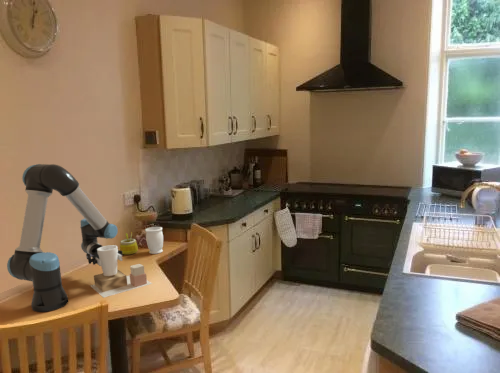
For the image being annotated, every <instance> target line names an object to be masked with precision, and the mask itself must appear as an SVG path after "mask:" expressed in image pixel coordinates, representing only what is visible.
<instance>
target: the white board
mask: <svg viewBox="0 0 500 373" xmlns="http://www.w3.org/2000/svg"><path fill="white" fill-rule="evenodd" d="M126 277H127V285H126V286H123V287H119V288H116V289H112V290H109V291H105V292H102V291H101V290H100V289H99V288H97V287H96V286H95V284H92V285H90V287H91V288H92V289H93V290H94V291H95V292H96V293H98V294H99V295H100V296H101V297H102V298H103V299H104V298H108V297H111V296H114V295H115V296H116V295H118V294H121V293H124V292H128V291H132V290H135V289H139V288H143V287H146V286H149V285H153V282H151V281H149V280H148V279H147V284H144V285H140V286H137V287H135V286H133V285H132V284H131V283H130V274H129V275H126Z"/></svg>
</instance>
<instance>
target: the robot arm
mask: <svg viewBox="0 0 500 373" xmlns="http://www.w3.org/2000/svg"><path fill="white" fill-rule="evenodd" d="M21 177H22V178H21V179H22V183H23V185H24V186H25V191H24V192H26V194H27V199H26V206H25V210H24V217H23V223H22V229H21V230H22V231H21V235H20V240H19V241H20V242H19V246H18V247H16V248H15V250H14V254H12V255H11V257H9V258H8V261H7V263H6V269H7V272H8V274H9V275H11V277H13V278H15V279H17V280H21V281H28V282H32V287H33V295H32V299H31V303H30V305H31V310H32V311H33V312H37V313H43V312H46V313H47V312H52V311H55V310H58V309H60V308H63V307H64V306H66V305H67V304H68V303H69V297H68V294H67V292H66V291H65V289H64V287H63V282H62V281H63V280H62V274H61V273H62V272H61V266H60V264H61V263H60V260H59V256H58V255H57V254H56V253H54V252H50V251H49V252H48V251H47V252H44V251H43V250H42V249H41V243H42V237H43V231H44V223H45V218H46V213H47V208H48V206H47V205H48V200H49V197H51V196H52V195H53V191H56V192H58V193H59V195H60V196H62V197H65V198H66V199H67V200H68V201H69V202H70V203H71V205H72V206H73V207H74V208H75V209H76V210H77V212H79V214H80V215H81V216H82V217H83V218H82V219H81V220H80V221H79V222H80V231H81V241H82V242H81V244H80V248H81V250H82V251H83V253H85V256H86V260H88V264H89V265H90V264H92V265H93V266H96V264H97V265H98V266H99V267H101V266H102V264H101V260H100V259H99V255H98V252H97V249H98V248H100V247H102V246H103V245H102V244H100V243H99V242H98V238H101V239H106V240H107V239H109V240H111V239H115V237H116V236H117V234H118V233H119V232H118V229H119V228H118V227H117V225H115V224H113V223H109V221H108V220H107V218H106V217H104V215H103V214H102V213H101V212H100V210H99V209H98V207H96V206H95V204H94V203H93V202H92V201H91V199H90V198H89V197H88V195H87V194H86V193H85V192H84V191H83V190H82V188H80V183H79V181H78V180H77V179H76V178H75V177H74V175H72V173H70V172H69V171H68V170H67V169H65V168H64V167H62V165H58V164H54V163H53V164H47V163H45V164H44V163H43V164H42V163H38V164H33V165H30V166H28V167H26V169H25V170H24V171H23V174H22V176H21ZM123 256H124V254H122V251H120V249H118V260H117V261H120V262H123Z"/></svg>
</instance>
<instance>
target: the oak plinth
mask: <svg viewBox="0 0 500 373" xmlns="http://www.w3.org/2000/svg"><path fill="white" fill-rule="evenodd" d="M126 276H127V274H125V273H124V272H122V271H120V270H119V269H117V274H115V275H112V276H104V274H103V272H102V273H99V274H95V275H93V282H94V285H95V286H96V287H97V288H99V289H100V290H101V291H102V292H105V291H109V290H112V289H116V288H119V287H123V286H126V285H127V277H126Z"/></svg>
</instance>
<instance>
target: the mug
mask: <svg viewBox="0 0 500 373" xmlns="http://www.w3.org/2000/svg"><path fill="white" fill-rule="evenodd" d="M130 233H131V234H130V236H133V232H132V231H131V232H130ZM119 250H120V251H122V254H123V256H124V255H125V256H126V255H127V256H129V255H133V254H135V253H137V252H138V250H139V248H138V243H137V240H136V239H135V238H129V236H128V233H127V232H126V233H125V239H123V240H120V241H119Z"/></svg>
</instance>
